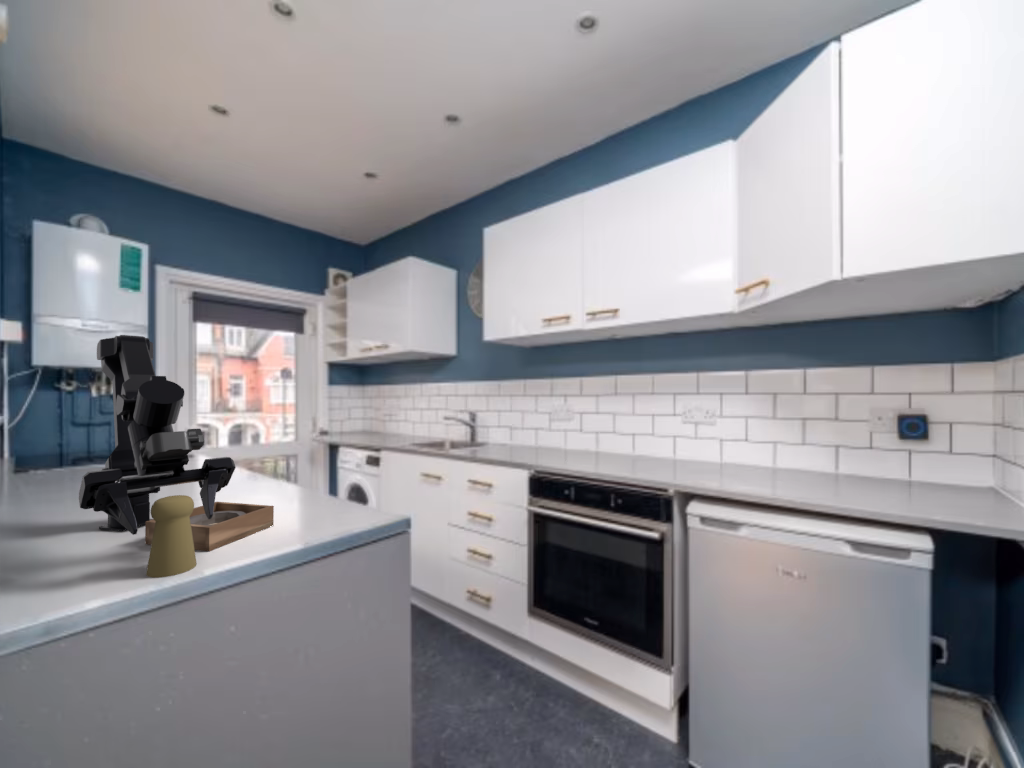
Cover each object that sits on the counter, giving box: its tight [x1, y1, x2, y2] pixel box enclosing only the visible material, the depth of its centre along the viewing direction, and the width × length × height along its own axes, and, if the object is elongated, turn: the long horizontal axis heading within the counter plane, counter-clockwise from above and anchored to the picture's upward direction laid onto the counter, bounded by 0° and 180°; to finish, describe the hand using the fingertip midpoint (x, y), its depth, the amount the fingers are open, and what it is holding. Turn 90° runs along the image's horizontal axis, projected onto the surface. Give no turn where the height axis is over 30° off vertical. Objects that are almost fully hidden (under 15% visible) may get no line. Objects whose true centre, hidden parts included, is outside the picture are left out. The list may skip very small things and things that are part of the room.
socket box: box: [144, 501, 275, 552], centre depth 81 cm, size 14×14×4 cm
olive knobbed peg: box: [145, 494, 197, 579], centre depth 65 cm, size 6×6×11 cm
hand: (175, 524), depth 64 cm, fingers open, 9 cm apart
